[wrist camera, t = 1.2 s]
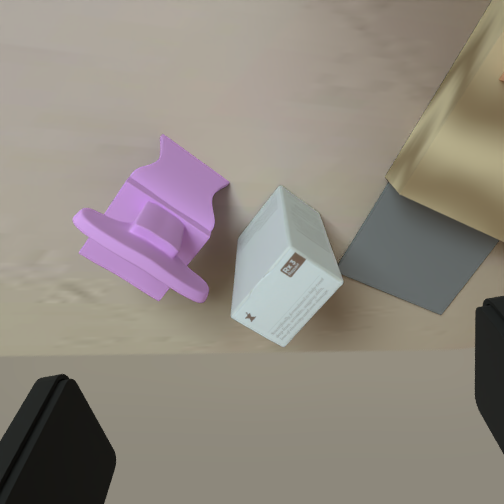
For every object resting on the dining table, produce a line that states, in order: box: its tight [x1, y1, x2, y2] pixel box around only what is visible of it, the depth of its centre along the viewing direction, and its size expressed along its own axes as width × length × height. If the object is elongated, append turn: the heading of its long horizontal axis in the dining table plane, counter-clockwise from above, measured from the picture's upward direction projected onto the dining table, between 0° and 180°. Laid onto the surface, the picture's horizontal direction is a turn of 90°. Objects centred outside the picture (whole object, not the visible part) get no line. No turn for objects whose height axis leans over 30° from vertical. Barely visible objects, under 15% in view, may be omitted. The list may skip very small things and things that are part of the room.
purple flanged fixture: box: [73, 134, 229, 303], centre depth 29 cm, size 8×9×15 cm
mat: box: [338, 182, 499, 315], centre depth 38 cm, size 9×11×1 cm
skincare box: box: [231, 186, 343, 347], centre depth 32 cm, size 6×4×12 cm
